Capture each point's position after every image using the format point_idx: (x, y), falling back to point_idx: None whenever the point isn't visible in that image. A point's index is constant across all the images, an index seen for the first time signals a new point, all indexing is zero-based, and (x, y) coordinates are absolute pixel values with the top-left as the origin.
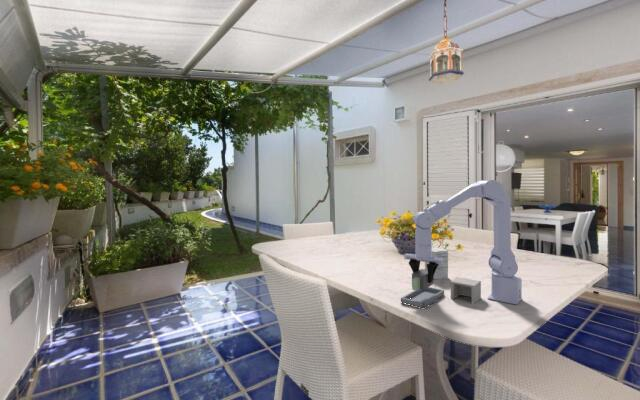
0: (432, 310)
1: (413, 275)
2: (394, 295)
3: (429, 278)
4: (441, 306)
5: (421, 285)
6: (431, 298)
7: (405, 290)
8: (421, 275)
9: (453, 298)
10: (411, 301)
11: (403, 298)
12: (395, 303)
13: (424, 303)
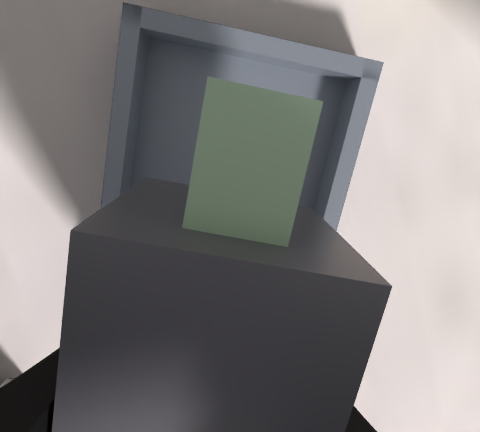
0: (59, 28)
1: (338, 263)
2: (453, 241)
3: (57, 356)
4: (26, 167)
5: (174, 193)
6: (102, 198)
7: (389, 388)
8: (135, 240)
9: (6, 380)
10: (260, 35)
11: (353, 58)
12: (407, 46)
13: (122, 30)
